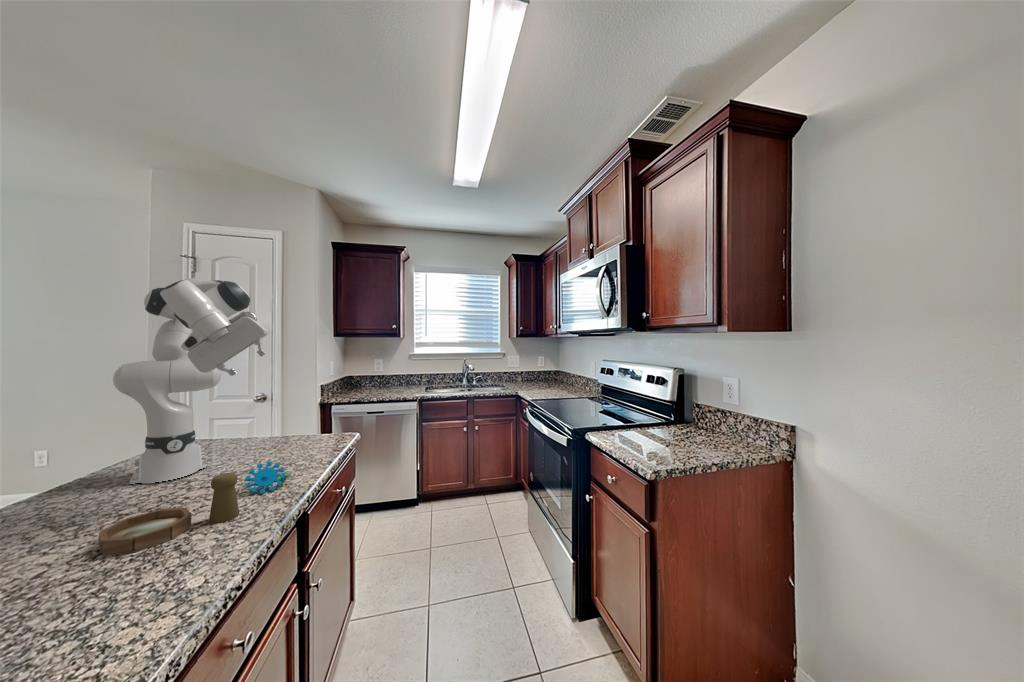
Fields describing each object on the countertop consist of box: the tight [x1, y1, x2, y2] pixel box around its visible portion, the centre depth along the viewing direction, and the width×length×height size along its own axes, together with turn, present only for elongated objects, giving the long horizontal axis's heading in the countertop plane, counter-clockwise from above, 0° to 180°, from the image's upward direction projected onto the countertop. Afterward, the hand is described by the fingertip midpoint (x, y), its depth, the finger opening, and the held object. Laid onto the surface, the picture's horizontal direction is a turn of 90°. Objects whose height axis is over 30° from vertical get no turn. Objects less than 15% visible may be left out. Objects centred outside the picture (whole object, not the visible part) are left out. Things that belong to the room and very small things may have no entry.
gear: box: [244, 461, 291, 495], centre depth 105 cm, size 11×6×10 cm
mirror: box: [98, 507, 192, 556], centre depth 79 cm, size 14×14×3 cm
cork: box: [208, 472, 240, 525], centre depth 87 cm, size 6×6×11 cm
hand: (249, 364), depth 105 cm, fingers open, 8 cm apart
